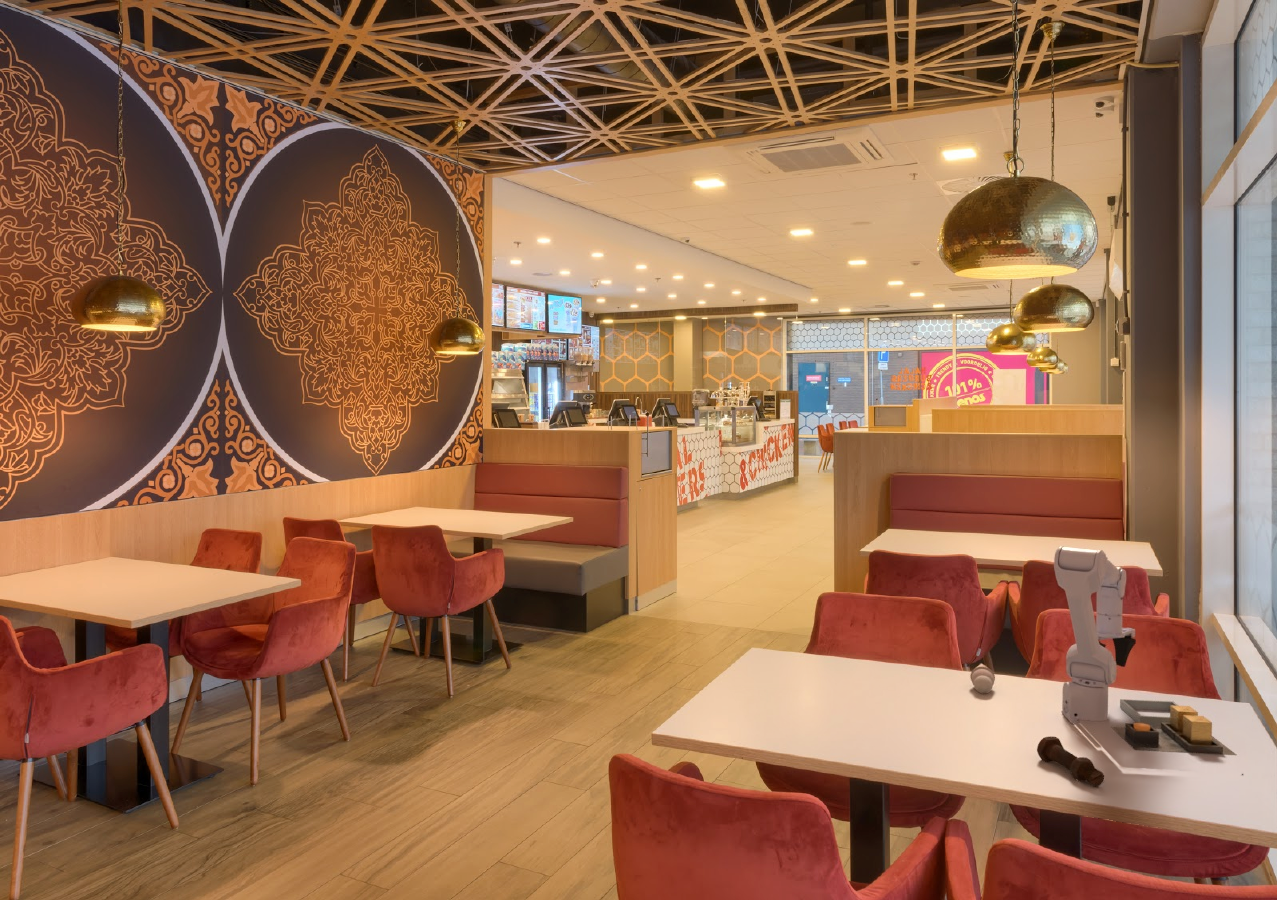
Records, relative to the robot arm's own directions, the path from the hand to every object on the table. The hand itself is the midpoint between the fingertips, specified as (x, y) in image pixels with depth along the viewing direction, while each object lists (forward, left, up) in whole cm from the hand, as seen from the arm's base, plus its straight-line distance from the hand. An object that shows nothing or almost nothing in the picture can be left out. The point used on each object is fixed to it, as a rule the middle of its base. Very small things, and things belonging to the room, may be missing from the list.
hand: (1108, 667), depth 219 cm
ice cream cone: (-28, +10, -10) cm, 31 cm away
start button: (-2, -26, -8) cm, 27 cm away
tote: (+7, -11, -9) cm, 16 cm away
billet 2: (+8, -29, -8) cm, 31 cm away
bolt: (-22, -45, -10) cm, 51 cm away
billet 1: (+8, -23, -8) cm, 25 cm away
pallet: (+4, -26, -9) cm, 28 cm away
